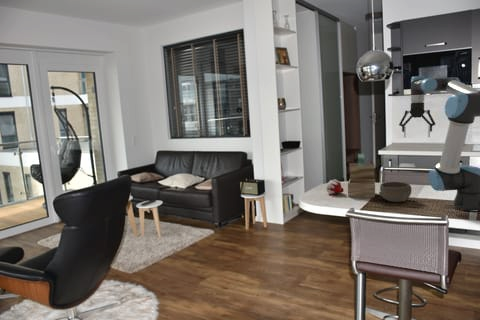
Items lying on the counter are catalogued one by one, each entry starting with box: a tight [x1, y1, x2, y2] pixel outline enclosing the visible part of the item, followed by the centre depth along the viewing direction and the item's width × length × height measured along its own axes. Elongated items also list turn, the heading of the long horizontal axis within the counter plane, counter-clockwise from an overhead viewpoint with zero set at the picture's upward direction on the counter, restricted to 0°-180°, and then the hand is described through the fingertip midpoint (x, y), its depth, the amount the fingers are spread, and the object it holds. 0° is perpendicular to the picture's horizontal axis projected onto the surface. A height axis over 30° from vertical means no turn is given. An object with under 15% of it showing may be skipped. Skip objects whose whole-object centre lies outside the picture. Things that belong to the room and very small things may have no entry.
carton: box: [347, 178, 376, 199], centre depth 254 cm, size 14×16×9 cm
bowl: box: [378, 181, 413, 203], centre depth 236 cm, size 17×18×10 cm
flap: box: [348, 153, 376, 180], centre depth 252 cm, size 22×15×4 cm
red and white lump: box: [326, 178, 344, 195], centre depth 259 cm, size 9×11×15 cm
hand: (416, 137), depth 241 cm, fingers open, 13 cm apart
